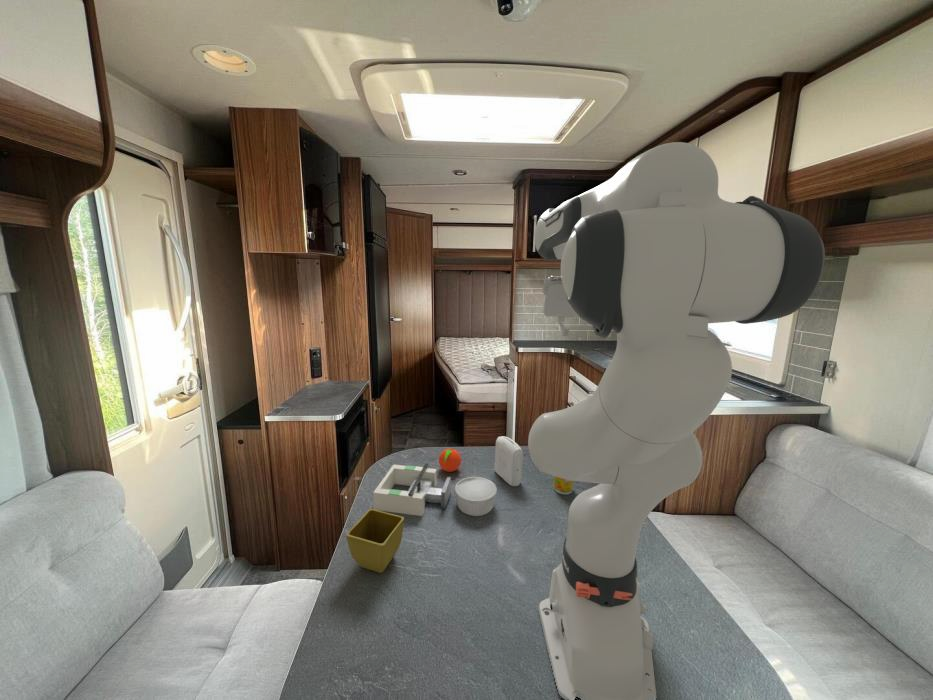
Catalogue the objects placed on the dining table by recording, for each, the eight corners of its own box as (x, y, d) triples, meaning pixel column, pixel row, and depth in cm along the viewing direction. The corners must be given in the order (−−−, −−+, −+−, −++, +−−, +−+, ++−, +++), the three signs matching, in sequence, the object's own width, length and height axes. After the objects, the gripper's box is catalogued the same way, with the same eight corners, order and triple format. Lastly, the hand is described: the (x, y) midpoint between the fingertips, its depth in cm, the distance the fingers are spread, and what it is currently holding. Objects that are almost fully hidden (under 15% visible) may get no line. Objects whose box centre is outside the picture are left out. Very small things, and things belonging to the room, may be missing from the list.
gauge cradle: (422, 516, 92) (422, 497, 91) (374, 509, 94) (373, 491, 93) (436, 484, 105) (436, 468, 104) (393, 479, 107) (393, 463, 106)
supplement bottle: (549, 485, 106) (551, 455, 104) (565, 482, 107) (568, 452, 105) (559, 496, 101) (562, 464, 99) (576, 493, 102) (579, 461, 100)
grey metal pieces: (441, 519, 90) (441, 497, 89) (400, 513, 92) (400, 492, 91) (453, 484, 105) (453, 466, 104) (418, 480, 107) (418, 462, 105)
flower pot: (384, 584, 72) (383, 545, 70) (347, 572, 75) (344, 534, 73) (405, 552, 80) (405, 516, 78) (371, 542, 83) (369, 507, 81)
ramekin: (476, 488, 104) (476, 471, 103) (505, 507, 96) (506, 489, 95) (445, 504, 97) (445, 486, 96) (474, 526, 89) (474, 507, 88)
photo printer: (523, 484, 106) (525, 445, 103) (511, 488, 104) (513, 448, 101) (504, 467, 115) (505, 431, 112) (492, 470, 113) (493, 434, 110)
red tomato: (455, 480, 108) (455, 458, 106) (434, 475, 110) (433, 454, 108) (464, 466, 115) (464, 445, 114) (443, 462, 117) (443, 442, 116)
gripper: (544, 275, 80) (541, 337, 83) (641, 277, 78) (634, 340, 81) (542, 275, 86) (539, 332, 89) (632, 276, 84) (625, 335, 87)
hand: (585, 336), depth 85 cm, fingers open, 8 cm apart
